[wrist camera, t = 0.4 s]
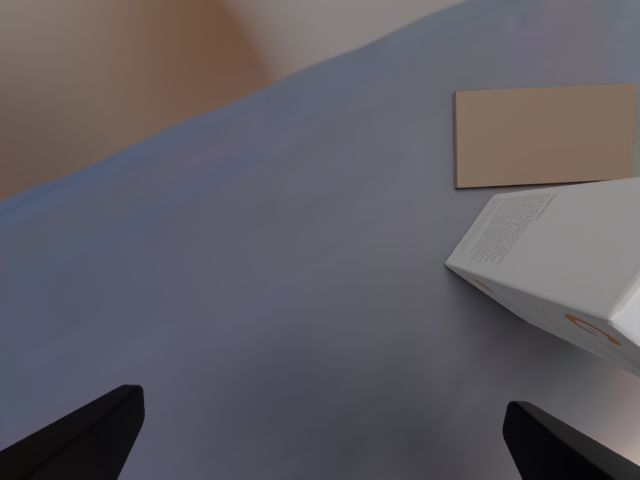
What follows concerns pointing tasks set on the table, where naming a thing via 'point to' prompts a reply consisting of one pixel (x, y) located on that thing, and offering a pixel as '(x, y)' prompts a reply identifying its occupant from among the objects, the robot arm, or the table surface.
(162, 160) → the table surface
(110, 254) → the table surface
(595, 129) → the cork mat
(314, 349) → the table surface
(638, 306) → the small box
